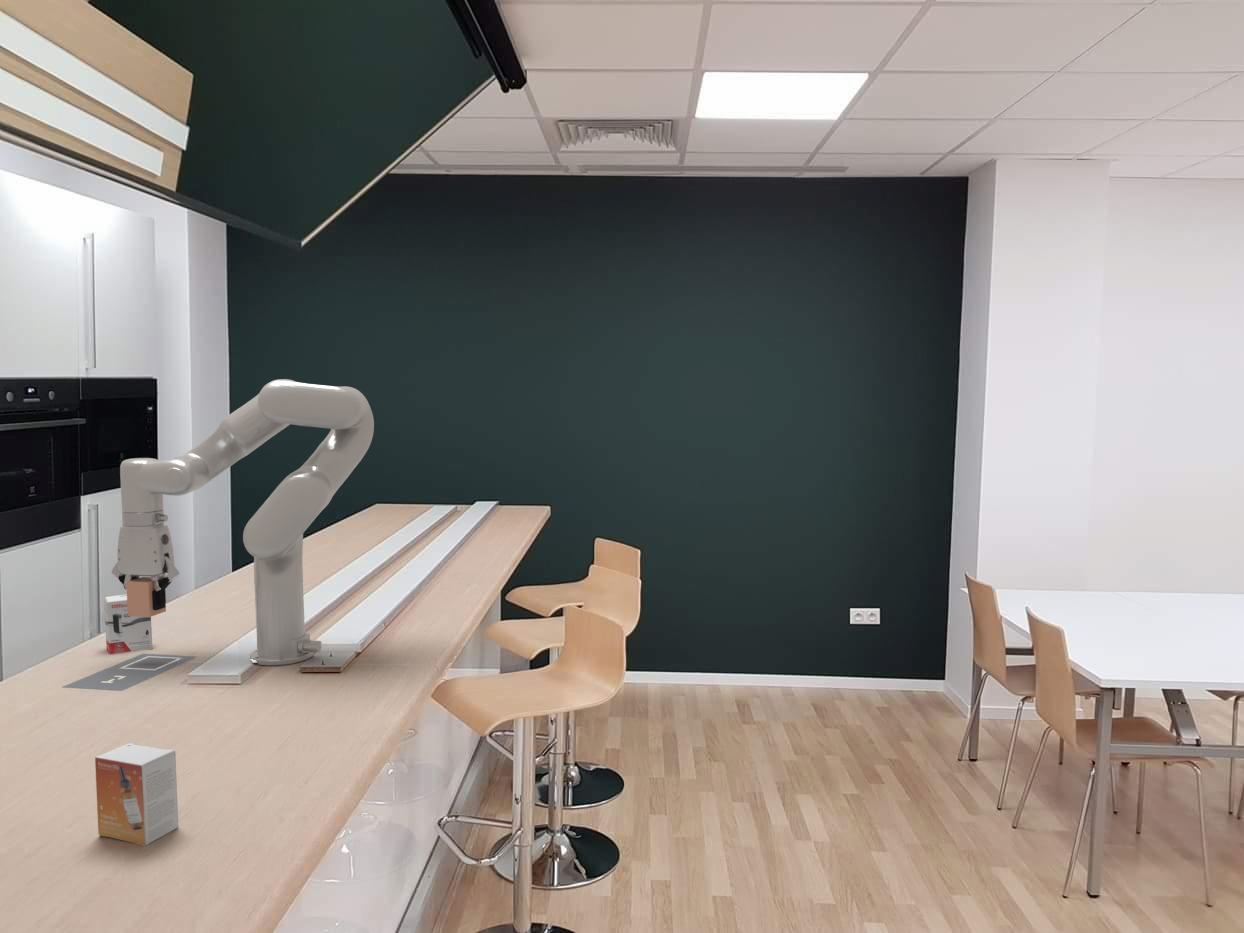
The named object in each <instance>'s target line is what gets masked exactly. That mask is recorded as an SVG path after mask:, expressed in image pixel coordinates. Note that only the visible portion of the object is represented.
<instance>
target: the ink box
mask: <svg viewBox="0 0 1244 933" xmlns="http://www.w3.org/2000/svg"><path fill="white" fill-rule="evenodd" d="M103 600H104V601H103V602H104V619H105V620H104V623H105V642H106V651H107V652H108V654H109V655H115V654H120V653H121V654H123V653H128V652H135V651H142V650H149V651H150V650H153V631H152V630H153V629H152V616H151V617H139V616H128V610H127V593H126V594H119V595H112V596H106V597H104V599H103Z"/></svg>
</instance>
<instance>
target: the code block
mask: <svg viewBox="0 0 1244 933" xmlns="http://www.w3.org/2000/svg"><path fill="white" fill-rule="evenodd" d="M158 578H159V577H158ZM159 582H160V580H159ZM126 588H127V590H126V594H127V610H128V616H139V617H151V618H152V617H154V616H157V615H159V614H162V613H165V612H167V605H166V606H165V608H162V609H159V610H153V600H152V591H154V590H155V589H154V586H153V582H152V579H151V576H139V578H137V579H134V580H130V581H127V582H126Z"/></svg>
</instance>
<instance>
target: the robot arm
mask: <svg viewBox="0 0 1244 933" xmlns="http://www.w3.org/2000/svg"><path fill="white" fill-rule="evenodd" d="M290 425H292V426H293V425H295V426H301V427H311V428H312V427H313V428H321V429H322V428H323V429H330V431H329V433H328V434H327V436H326V437H325V438H324V439H323V441H321V442H320V444H319V445H318V446H317V448H316V449H315V450H314V452H313V453H312V454H311V455H310V456H309V457H308V459H307V460H306V461H305V462H304V463H303V464H302V465H301V466H300V467H299V468H297V469H296V470H294V471H293V472H291V473H289V474H288V475H287V476H286V477H285V478H284V479H283V480H282V481H281V482H280V483H279V484H278V485H277V487H276V488H275V489H274V490H273V491H272V492H271V494H270V495H269V496H268V498H267V499H266V500H265V501H264V502H263V504H262V505H261V506H260V507H259V508H258V509H257V511H256V512H255V513H254V514H253V516H251V518H250V519H249V520H248V522H247V523H246V525H245V526H244V530H243V534H242V541H243V544H244V545H243V546H244V547H245V549H246V551H247V552H248V553H249V554H250V555H251V556H252V557H253V578H254V579H253V580H254V582H253V583H254V602H255V622H256V624H255V625H256V642H257V644H256V646H257V647H256V648H257V649H255V650H254V651H252V652H250V654H249V660H250V659H253V660H256V661H257V663H258V664H257V665H260V666H281V665H282V666H284V665H291V664H296V663H299V662H304V661H306V660H309V659H310V658H312V657H313V656H314V654H315V653H320V652H321V651H322V641H321V640H312V639H311V634H310V633H306V626H305V604H304V603H305V602H304V600H305V598H304V575H303V574H304V570H303V569H304V568H303V555H304V554H303V552H304V550H303V546H304V533H305V531H306V530H307V529H308V528H309V527H310V526H311V524H312V523H313V522H314V521H315V519H316V518H317V517H318V516H319V515H320V513H322V511H323V510H324V509H326V507H327V506H328V505H329V504H330V502H331V501H332V498H333V496H334V495H335V494H336V492H338V490H339V488H341V486H342V485H343V484H344V482H345V481H346V480H347V479H348V478H349V476H350V475H351V474H352V473H353V471H354V469H355V468H356V467H357V466H358V464H360V462H362V459H363V458H364V456H365V455H366V454H367V452H368V450H369V448H370V446H371V443H372V440H373V437H374V431H375V430H374V428H375V420H374V414H373V411H372V409H371V406H370V404H369V401H368V400H367V398H366V396H365V395H364V394H363V393H362V392H361V391H360V390H358V389H357V388H354V387H353V386H352V387H351V386H348V385H347V386H346V385H345V386H334V385H326V384H325V385H324V384H315V383H306V382H299V381H295V380H293V379H288V378H283V379H282V378H281V379H279V378H278V379H274V380H272V381H270V382H268V383H266V384H265V385H264V386H263V387H262V388H261V390H260V391H259V393H257V395H256V396H254V397H253V398H252V399H249V401H247V402H246V403H245V404H243V405H242V406H240V407H239V408H237V409H236V410H234V411H233V412H231V413H230V414H229V415H227V416H226V417H225V418H224V419H223V420H222V421H221V422H220V424H219V425H218V428H217V429H216V430H215V431H214V432H213V433H211V435H210V436H208V437H207V438H206V439H205V440H203V441H201V442H200V443H198V445H196V446H194V447H193V448H192V449H190V450H189V451H187V452H186V453H185V454H183V455H180V456H177V457H174V458H167V459H163V460H161V459H157V458H151V457H135V458H128V459H124V460H123V461H122V462H121V463H120V466H119V467H120V468H119V470H120V471H119V474H120V476H119V477H120V496H121V498H120V500H121V515H122V517H121V518H122V519H121V521H122V526H120V527H119V533H118V540H117V555H116V557H117V562H116V564H115V565H114V566H113V568H112V569H111V574H112V575H113V576H115V577H116V578H117V579H118V581H119V582H120V583H121V584H122V585H123V589H124V590H126V591H127V588H126V582H127V581H130V580H134V579H137V578H140V577H151V579H152V582H153V586H154V589H155V590H154V591H152V600H153V610H159V609H162V608H165V606H166V607H167V605H166V604H167V603H166V602H167V597H166V596H167V595H166V589H167V588H169V586H170V584H171V583H172V582H173V580H175V579H177V577H178V576H180V572H179V569H177V567H176V566H175V556H174V548H173V540H172V538H171V533H170V528H169V527H168V525H165V522H167V521H168V519H169V516H168V515H167V514H164V496H163V495H166V496H175V497H176V496H177V497H178V496H184V495H187V494H190V493H192V492H193V491H196V490H199V489H201V488H202V487H205V485H207V484H208V483H209V482H210V481H212V480H213V479H215V478H217V477H218V476H219V475H220V474H223V473H224V471H226V470H228V469H229V468H230V467H231V466H233V465H234V464H235V463H237V462H239V460H242V459H243V458H245V457H246V456H248V455H250V454H252V452H253V451H255V450H256V449H258V448H259V447H260V446H262V445H263V444H264V443H266V442H267V441H268V440H270V439H271V438H272V437H274V436H276V435H278V433H280V432H281V431H283V430H284V429H286V428H287V427H289V426H290ZM158 577H159V578H158ZM159 580H160V582H159Z"/></svg>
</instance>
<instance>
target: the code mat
mask: <svg viewBox="0 0 1244 933" xmlns="http://www.w3.org/2000/svg"><path fill="white" fill-rule="evenodd" d="M195 658H198V656H197V655H179V654H159V653H140V654H138V655H136V656H134V657H132V658H129V659H126V660H124V661H122V662H119V663H117V664H114V665H112V666H110V667H109V666H108V667H107V668H104V669H101V670H100V671H97V672H95V673H93V674H90V675H88V676H85V677H83V678H80V679H78V680H75V681H72V682H70V683H68V684H65V685H63V686H62V688H64V689H65V688H69V689H80V690H83V689H84V690H101V691H115V692H123V691H125V690H128V689H129V688H132V687H134V686H137V685H139V684H140V683H143V682H145V681H148V680H150V679H151V678H154V677H155V676H159V675H160V674H162V673H165V672H167V671H169V670H171V669H173V668H176V667H178V666H180V665H182V664H185V663H187V662H189V661H191V660H193V659H195Z"/></svg>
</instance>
